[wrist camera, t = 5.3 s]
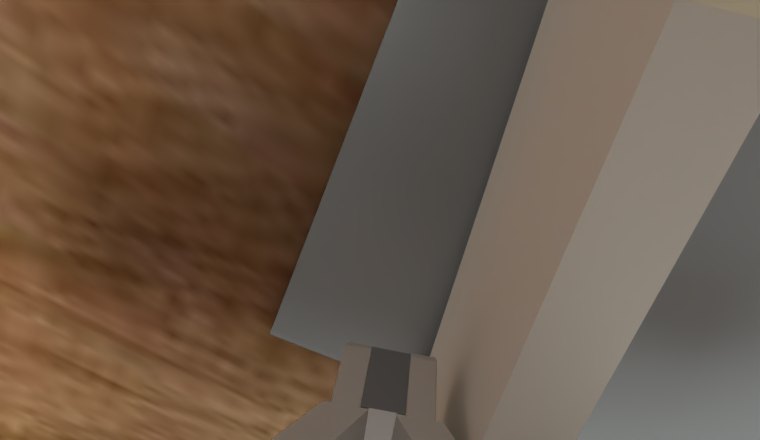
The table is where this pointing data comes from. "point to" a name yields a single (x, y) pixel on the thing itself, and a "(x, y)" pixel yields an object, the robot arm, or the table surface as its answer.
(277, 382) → the table surface
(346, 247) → the board
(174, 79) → the table surface
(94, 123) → the table surface
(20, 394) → the table surface
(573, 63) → the panel
